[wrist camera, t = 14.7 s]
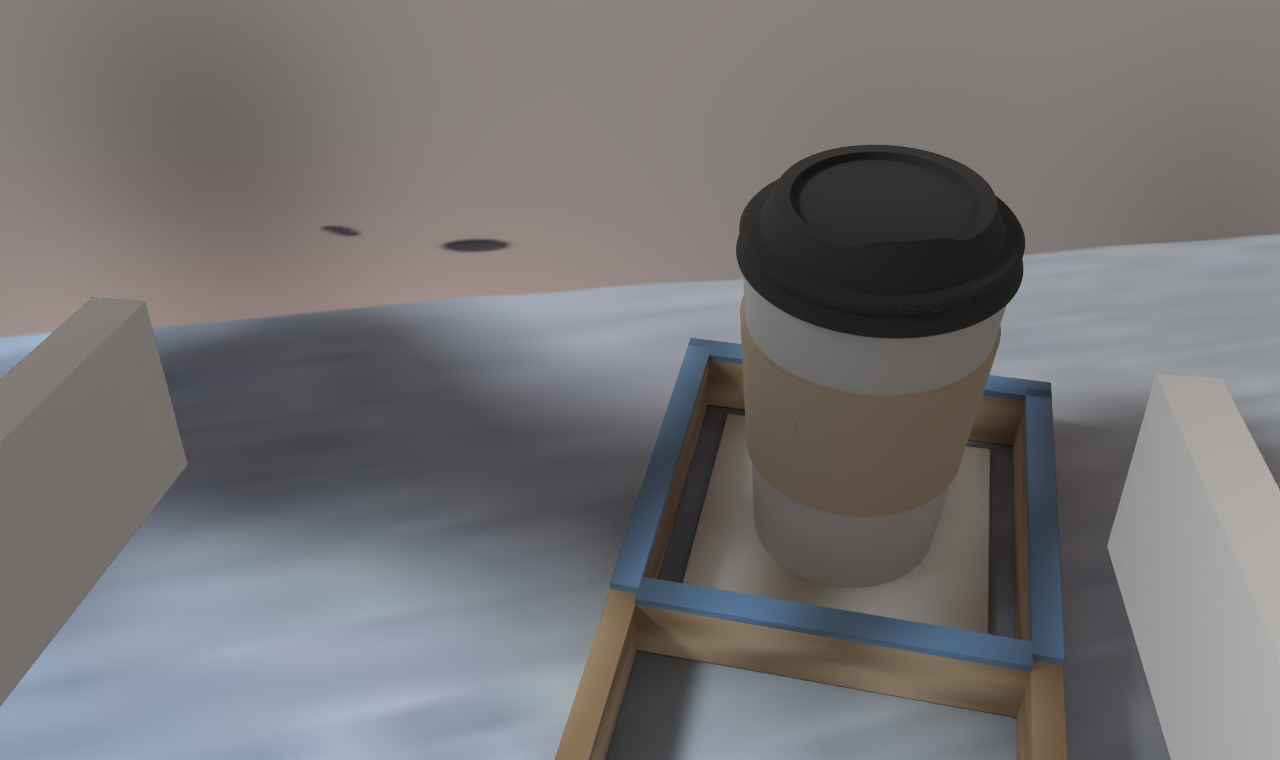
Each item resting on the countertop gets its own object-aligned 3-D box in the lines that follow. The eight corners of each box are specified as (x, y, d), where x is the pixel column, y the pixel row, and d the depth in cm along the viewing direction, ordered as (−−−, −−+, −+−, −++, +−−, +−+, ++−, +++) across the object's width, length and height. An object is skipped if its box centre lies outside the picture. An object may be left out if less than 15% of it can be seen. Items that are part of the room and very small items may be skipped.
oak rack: (485, 1043, 32) (473, 999, 30) (690, 387, 52) (690, 337, 51) (1064, 1188, 29) (1090, 1149, 27) (1037, 433, 49) (1050, 382, 48)
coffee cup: (714, 448, 49) (722, 122, 39) (928, 435, 49) (988, 108, 39) (742, 620, 42) (760, 275, 32) (991, 604, 42) (1083, 257, 33)
